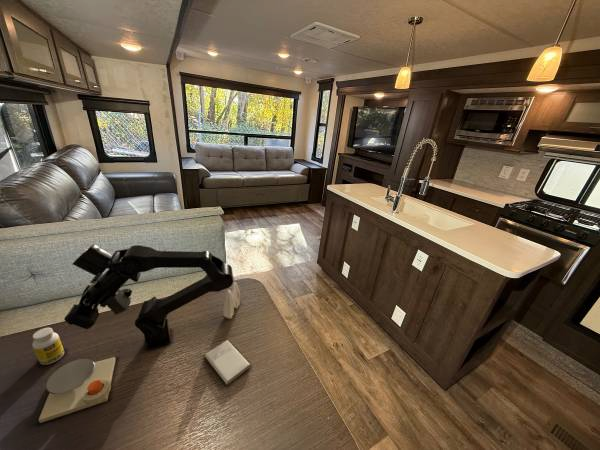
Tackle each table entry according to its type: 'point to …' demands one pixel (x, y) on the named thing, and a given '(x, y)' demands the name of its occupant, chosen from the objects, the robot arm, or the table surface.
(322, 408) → the table surface
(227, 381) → the hard drive
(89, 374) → the scale pan
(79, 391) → the scale
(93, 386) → the tare button
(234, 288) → the shaker set
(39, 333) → the supplement bottle
